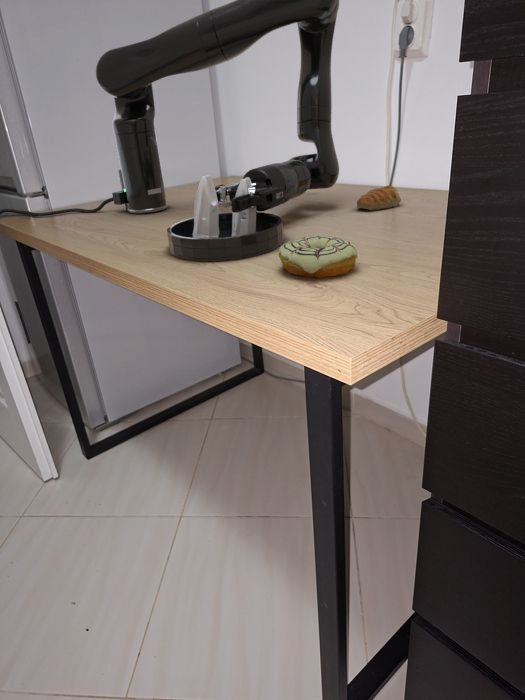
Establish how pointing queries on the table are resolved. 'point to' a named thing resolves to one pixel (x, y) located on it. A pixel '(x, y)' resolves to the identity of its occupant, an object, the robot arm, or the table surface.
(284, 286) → the table surface
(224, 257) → the pan
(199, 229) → the shaker set
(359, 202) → the pastry
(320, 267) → the decorated donut
